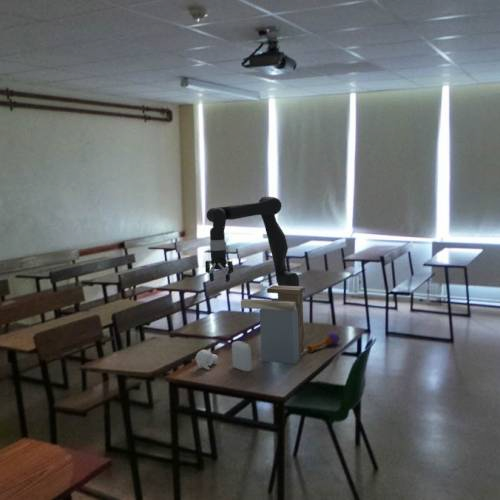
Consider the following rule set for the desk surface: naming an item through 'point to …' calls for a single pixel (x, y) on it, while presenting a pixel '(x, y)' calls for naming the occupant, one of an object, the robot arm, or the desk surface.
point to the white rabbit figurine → (206, 359)
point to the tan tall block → (296, 295)
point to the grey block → (279, 336)
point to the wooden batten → (268, 304)
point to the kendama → (325, 342)
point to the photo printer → (241, 356)
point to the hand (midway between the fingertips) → (219, 281)
